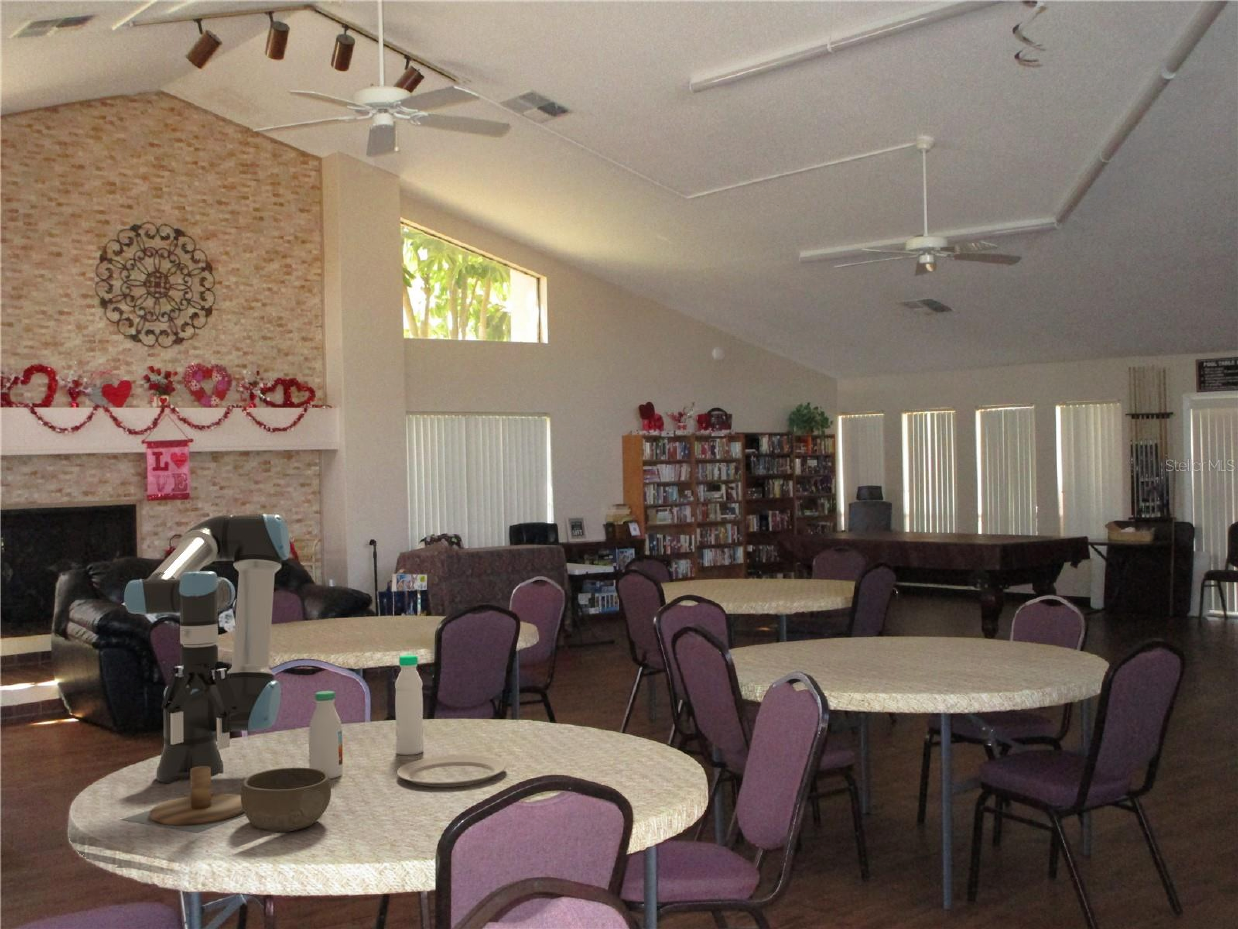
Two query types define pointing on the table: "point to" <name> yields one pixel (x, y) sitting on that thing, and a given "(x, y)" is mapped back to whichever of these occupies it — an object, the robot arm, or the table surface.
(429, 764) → the plate
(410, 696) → the white plastic bottle
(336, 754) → the milk bottle
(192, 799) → the lid
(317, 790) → the bowl
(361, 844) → the table surface
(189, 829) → the mat
